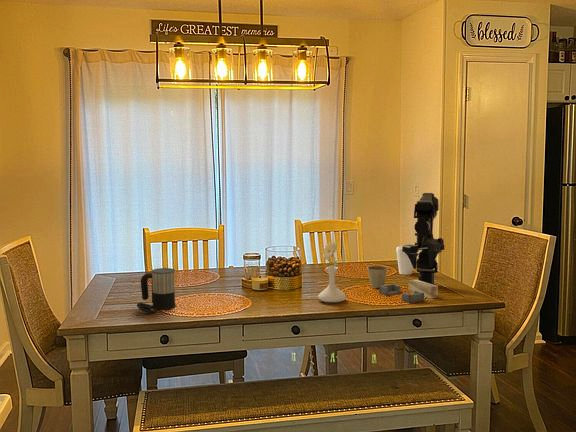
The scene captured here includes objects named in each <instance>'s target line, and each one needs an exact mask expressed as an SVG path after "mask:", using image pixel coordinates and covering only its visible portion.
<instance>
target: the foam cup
mask: <svg viewBox="0 0 576 432" xmlns="http://www.w3.org/2000/svg"><path fill="white" fill-rule="evenodd" d="M403 246H404V245H403ZM403 246H402V245H401V246H396V258H397V265H398V272H399V273H398V274H400V275H405V276H407V275H412V274H413V270H414V268H413V266H412V264H411V261H410V259H409V258H408V256H407V254H405V252H402V247H403Z"/></svg>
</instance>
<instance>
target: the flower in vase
mask: <svg viewBox="0 0 576 432" xmlns="http://www.w3.org/2000/svg"><path fill="white" fill-rule="evenodd" d="M337 246H338V245H336V242H334V241H329V243H327V245H325V246H324V249H323V251H322V254H323V255H322V258H323V259H324V261H325V260H327V261H328V263H329V264H331V265H332V266H328V267H327V266H326V268H325V269H326V271H327V273H328V279H329V280H328V281H329V282H328V286H327V287H326V288H325V289H324V290H322V291H320V293H319V294H318V296H317V298H318V300H320V301H322V302H325V303H340V302H343V301H345V300H346V299H347V297H346V294H345V292H343V291H342V290H340V289H339V288H338V287H337V286H336V274H337V270H338V269H339V267H338V260H336V257H335V255H334V254H335V253H336V250H337ZM331 258H333V261H332V260H331Z"/></svg>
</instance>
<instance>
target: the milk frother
mask: <svg viewBox="0 0 576 432" xmlns="http://www.w3.org/2000/svg"><path fill="white" fill-rule="evenodd" d="M150 271H151V272H147V273H145V274H144V275H142V276H141V279H140V288H141V289H140V290H141V298H142V300H143V301H147V300H148V299H149V297H150V294H149V285H148V283H149V282H148V280H149V279H151V302H152V305H151V304H148V303H145V302H138V303H137V304H136V307H137V308H138V309H139V310H140V311H142V312H145V313H146V314H152V313H156V310H170V309H174V308H175V307H176V306H177V305H176V296H175V295H176V294H175V293H176V292H175V290H176V289H175V287H176V285H175V271H176V269H175V268H169V267H168V268H167V267H161V268H154V269H151V270H150Z"/></svg>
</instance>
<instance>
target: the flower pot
mask: <svg viewBox="0 0 576 432" xmlns="http://www.w3.org/2000/svg"><path fill="white" fill-rule="evenodd" d="M366 269H367V272H368V278H369V284H370V287H371V288H374V289H375V288H376V289H378V288H379V289H380V286H382V285H386V278H387V277H386V276H387V272H388V270H389V268H388V266H383V265H370V266H367V267H366Z"/></svg>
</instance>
